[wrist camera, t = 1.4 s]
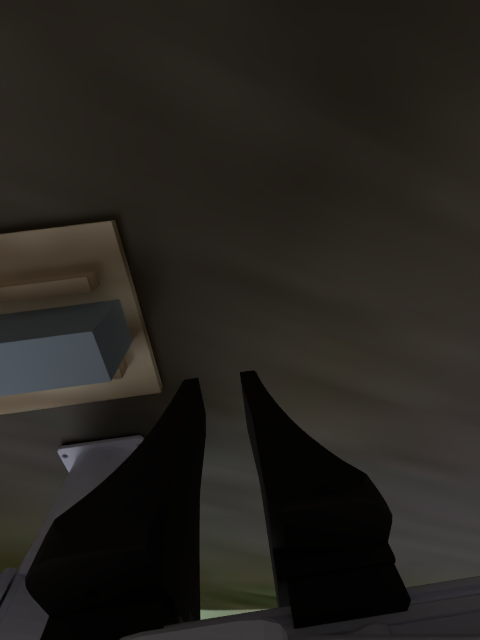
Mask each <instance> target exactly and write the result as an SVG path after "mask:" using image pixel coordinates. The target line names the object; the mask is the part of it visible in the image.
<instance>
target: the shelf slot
mask: <svg viewBox="0 0 480 640" xmlns="http://www.w3.org/2000/svg"><path fill="white" fill-rule="evenodd" d="M117 299H120V302H121V306H122V309H123V312H124V315H125V318H126V321H127V325H128V328H129V331H130V334H131V337H132V340H133V342H132V344H131V345H130V347H129V349H128V351H127V353H126V355H125V357H124V358H123V360H122V362H121V364H120V366H119V368H118V370H117V371H116V373H115V375H114V377H113V379H112V381H111V382H104V383H96V384H89V385H81V386H74V387H67V388H59V389H52V390H44V391H37V392H30V393H22V394H15V395H7V396H0V415H1V414H9V413H16V412H23V411H31V410H38V409H45V408H52V407H60V406H67V405H74V404H82V403H89V402H96V401H104V400H111V399H118V398H126V397H133V396H140V395H148V394H155V393H161V391H162V387H163V386H162V382H161V379H160V375H159V372H158V368H157V365H156V361H155V358H154V354H153V351H152V347H151V344H150V340H149V337H148V333H147V330H146V326H145V323H144V319H143V316H142V312H141V309H140V305H139V302H138V298H137V295H136V291H135V287H134V284H133V280H132V277H131V273H130V270H129V266H128V263H127V259H126V256H125V252H124V249H123V245H122V242H121V238H120V235H119V231H118V228H117V224H116V221H115V220H110V221H101V222H93V223H85V224H77V225H68V226H60V227H52V228H43V229H35V230H27V231H19V232H10V233H2V234H0V314H8V313H16V312H24V311H32V310H39V309H47V308H55V307H63V306H71V305H78V304H86V303H94V302H102V301H110V300H117Z"/></svg>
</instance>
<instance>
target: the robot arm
mask: <svg viewBox="0 0 480 640" xmlns="http://www.w3.org/2000/svg"><path fill="white" fill-rule="evenodd" d="M240 376H241V384H242V392H243V399H244V407H245V414H246V422H247V429H248V434H249V438H250V442H251V446H252V451H253V455H254V459H255V463H256V468H257V472H258V476H259V481H260V486H261V493H262V500H263V507H264V513H265V520H266V527H267V534H268V541H269V548H270V555H271V562H272V569H273V576H274V583H275V590H276V597H277V604H278V608H274V609H267V610H261V611H255V612H248V613H242V614H236V615H230V616H223V617H217V618H210V619H204V620H200V561H199V523H200V486H201V476H202V467H203V458H204V448H205V438H206V413H205V408H204V403H203V399H202V394H201V389H200V385H199V380H198V378H194V379H187V380H184V381H183V382H182V384H181V386H180V387H179V389H178V391H177V393H176V394H175V396H174V398H173V399H172V401H171V402H170V404H169V406H168V407H167V409H166V410H165V412H164V413H163V415H162V416H161V418H160V419H159V420H158V422H157V423H156V424H155V426H154V427H153V429H152V430H151V431H150V432H149V434H148V435H147V436H146V438H145V439H144V438H143V437H142V436H140V435H136V436H128V437H121V438H114V439H107V440H100V441H93V442H86V443H79V444H71V445H64V446H61V447H60V448H59V449H58V454H59V456H60V458H61V459H62V461H63V463H64V465H65V466H66V468H67V470H68V472H69V474H68V476H67V478H66V480H65V482H64V483H63V485H62V487H61V489H60V491H59V493H58V495H57V497H56V499H55V501H54V503H53V505H52V507H51V509H50V511H49V513H48V515H47V517H46V519H45V521H44V522H43V524H42V526H41V528H40V530H39V532H38V534H37V536H36V538H35V540H34V542H33V544H32V546H31V548H30V550H29V552H28V553H27V555H26V557H25V558H24V560H23V562H22V563H21V565H20V567H19V568H18V570H17V572H16V574H15V575H13V574H14V572H15V570H16V569H15V568H6V569H5V570H4V571H3V573H0V640H480V576H477V577H471V578H464V579H458V580H452V581H445V582H439V583H433V584H426V585H420V586H414V587H407V588H405V586H404V583H403V581H402V579H401V577H400V575H399V573H398V571H397V569H396V567H395V564H394V563H395V561H396V560H395V556H394V554H393V552H392V550H391V548H390V546H389V544H388V539H389V535H390V530H391V525H392V513H391V512H390V510H389V507H388V505H387V503H386V501H385V500H384V498H383V497H382V495H381V494H380V492H379V491H378V489H377V488H376V486H375V485H374V484H373V482H372V481H371V480H370V478H369V477H368V476H367V474H365V473H364V472H362V471H360V470H358V469H357V468H355V467H353V466H352V465H350V464H348V463H346V462H345V461H343V460H341V459H340V458H338V457H337V456H335V455H334V454H333V453H331V452H330V451H328V450H327V449H326V448H324V447H323V446H322V445H320V444H319V443H318V442H316V441H315V440H314V439H313V438H311V437H310V436H309V435H308V434H306V433H305V432H304V431H303V430H302V429H301V428H300V427H299V426H298V425H297V424H295V423H294V422H293V421H292V420H291V419H290V418H289V417H288V415H287V414H286V413H285V412H284V411H283V410H282V409H281V408H280V407H279V405H278V404H277V403H276V402H275V401H274V399H273V398H272V397H271V395H270V394H269V393H268V391H267V390H266V388H265V387H264V385H263V384H262V382H261V381H260V379H259V377H258V375H257V373H256V372H255V371H254V370H253V371H246V372H240Z"/></svg>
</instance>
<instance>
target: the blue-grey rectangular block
mask: <svg viewBox="0 0 480 640" xmlns="http://www.w3.org/2000/svg"><path fill="white" fill-rule="evenodd" d="M132 342H133V340H132V337H131V334H130V331H129V328H128V325H127V321H126V318H125V315H124V312H123V309H122V306H121V302H120V299H117V300H110V301H102V302H94V303H86V304H78V305H71V306H63V307H55V308H47V309H39V310H32V311H24V312H16V313H8V314H0V396H7V395H15V394H22V393H30V392H37V391H44V390H52V389H59V388H67V387H74V386H81V385H89V384H96V383H104V382H111V381H112V379H113V377H114V375H115V373H116V371H117V370H118V368H119V366H120V364H121V362H122V360H123V358H124V357H125V355H126V353H127V351H128V349H129V347H130V345H131V344H132Z"/></svg>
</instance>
